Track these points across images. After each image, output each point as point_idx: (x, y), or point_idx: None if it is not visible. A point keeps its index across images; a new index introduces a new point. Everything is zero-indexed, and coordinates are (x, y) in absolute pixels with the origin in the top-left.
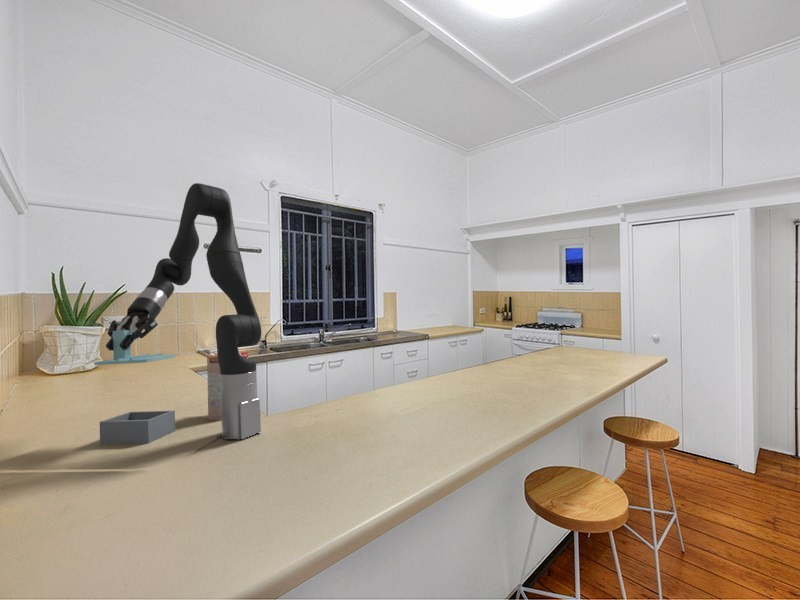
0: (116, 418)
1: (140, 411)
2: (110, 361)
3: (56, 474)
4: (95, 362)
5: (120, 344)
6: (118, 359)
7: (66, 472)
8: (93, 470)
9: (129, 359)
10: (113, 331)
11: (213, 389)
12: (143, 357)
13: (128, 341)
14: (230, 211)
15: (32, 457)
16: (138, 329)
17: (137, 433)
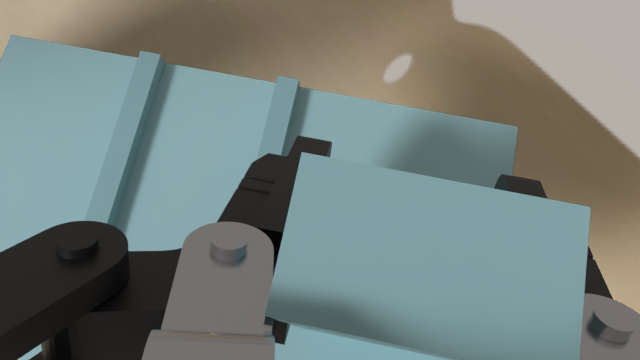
0: None
1: None
2: (353, 97)
3: (354, 20)
4: (506, 125)
5: (318, 141)
6: (276, 84)
7: (334, 28)
8: (259, 26)
9: (218, 154)
10: (564, 206)
11: None
12: (100, 183)
13: (239, 188)
14: None
15: (589, 192)
16: (49, 278)
17: None
